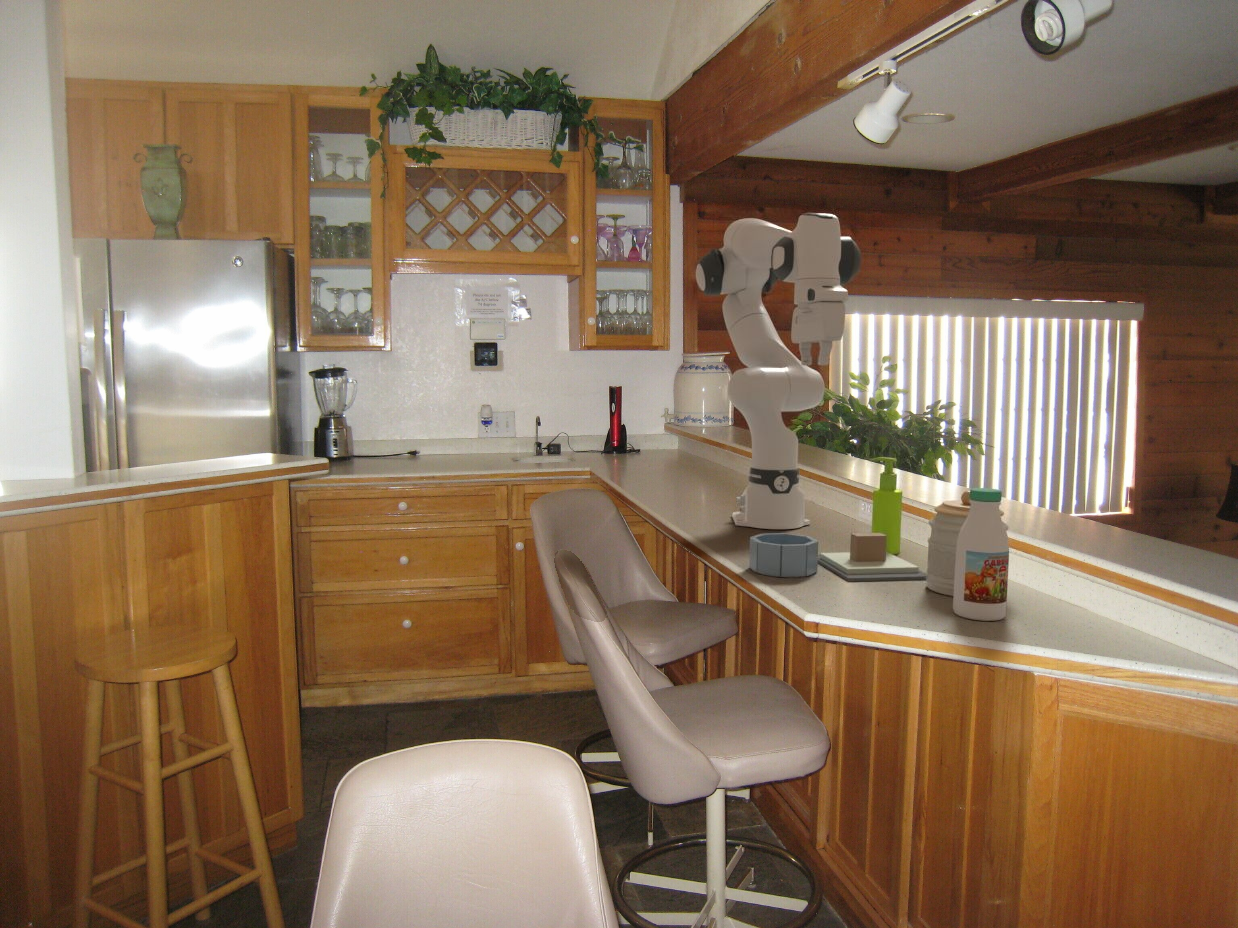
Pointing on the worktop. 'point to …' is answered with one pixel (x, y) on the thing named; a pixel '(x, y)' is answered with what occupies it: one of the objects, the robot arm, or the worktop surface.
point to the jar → (946, 543)
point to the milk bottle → (982, 560)
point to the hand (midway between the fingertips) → (814, 365)
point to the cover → (868, 557)
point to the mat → (873, 577)
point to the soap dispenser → (887, 507)
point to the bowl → (783, 555)
